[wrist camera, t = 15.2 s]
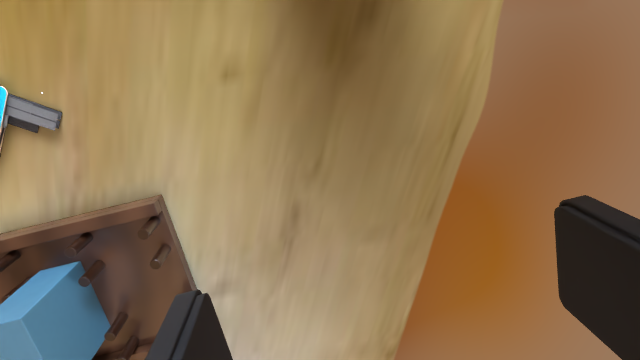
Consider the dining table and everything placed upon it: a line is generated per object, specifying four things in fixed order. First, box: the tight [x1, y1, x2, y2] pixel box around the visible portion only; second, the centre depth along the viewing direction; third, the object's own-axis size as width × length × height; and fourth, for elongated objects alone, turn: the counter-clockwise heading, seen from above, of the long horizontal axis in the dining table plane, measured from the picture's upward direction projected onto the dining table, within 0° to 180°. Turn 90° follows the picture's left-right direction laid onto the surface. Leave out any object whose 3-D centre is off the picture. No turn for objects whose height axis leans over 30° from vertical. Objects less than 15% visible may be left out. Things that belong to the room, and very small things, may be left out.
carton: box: [0, 261, 110, 360], centre depth 35 cm, size 8×4×9 cm, turn 13°
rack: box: [0, 195, 197, 360], centre depth 39 cm, size 22×16×4 cm
